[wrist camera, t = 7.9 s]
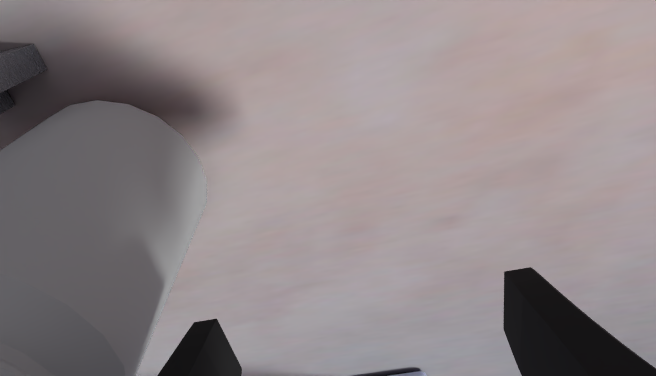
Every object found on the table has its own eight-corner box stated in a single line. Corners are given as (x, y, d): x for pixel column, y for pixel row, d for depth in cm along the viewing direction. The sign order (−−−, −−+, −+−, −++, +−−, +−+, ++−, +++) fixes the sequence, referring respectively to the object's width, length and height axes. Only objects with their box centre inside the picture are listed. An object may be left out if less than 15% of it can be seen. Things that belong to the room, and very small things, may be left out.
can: (44, 216, 21) (-228, 497, 10) (40, 70, 17) (-390, 279, 7) (198, 250, 22) (94, 530, 12) (225, 121, 18) (107, 363, 8)
